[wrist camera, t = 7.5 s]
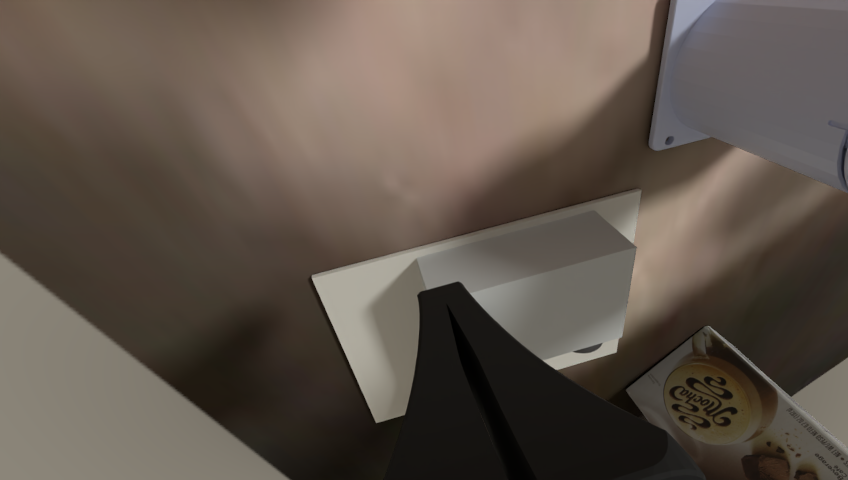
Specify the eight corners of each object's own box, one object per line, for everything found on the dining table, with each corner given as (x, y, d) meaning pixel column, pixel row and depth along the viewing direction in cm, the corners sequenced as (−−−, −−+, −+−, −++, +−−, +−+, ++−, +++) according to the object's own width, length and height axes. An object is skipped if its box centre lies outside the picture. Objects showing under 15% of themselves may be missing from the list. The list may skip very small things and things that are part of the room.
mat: (638, 188, 24) (641, 190, 24) (614, 349, 33) (616, 352, 32) (311, 275, 23) (311, 278, 22) (375, 419, 31) (376, 423, 31)
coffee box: (657, 405, 39) (824, 622, 26) (622, 388, 36) (792, 624, 23) (737, 346, 36) (973, 557, 23) (707, 322, 33) (958, 549, 20)
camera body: (594, 210, 24) (644, 253, 20) (586, 307, 29) (625, 357, 25) (416, 257, 23) (433, 312, 19) (438, 349, 28) (455, 407, 24)
